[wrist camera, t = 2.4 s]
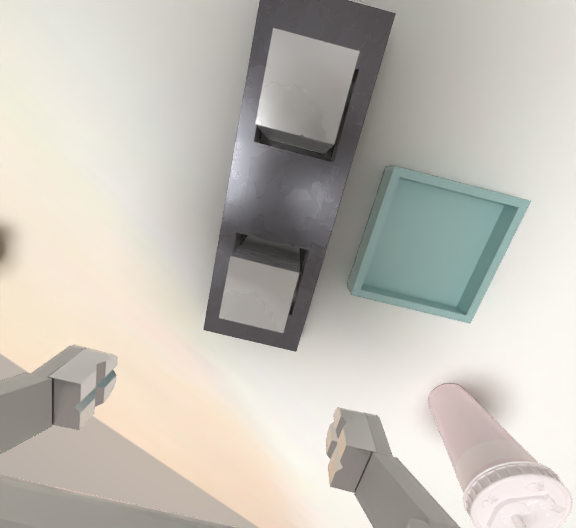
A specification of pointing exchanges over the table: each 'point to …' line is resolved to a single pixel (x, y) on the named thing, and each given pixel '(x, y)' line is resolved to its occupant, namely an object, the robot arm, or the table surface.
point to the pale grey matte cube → (261, 284)
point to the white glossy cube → (304, 90)
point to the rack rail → (294, 159)
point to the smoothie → (496, 467)
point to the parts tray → (433, 243)
